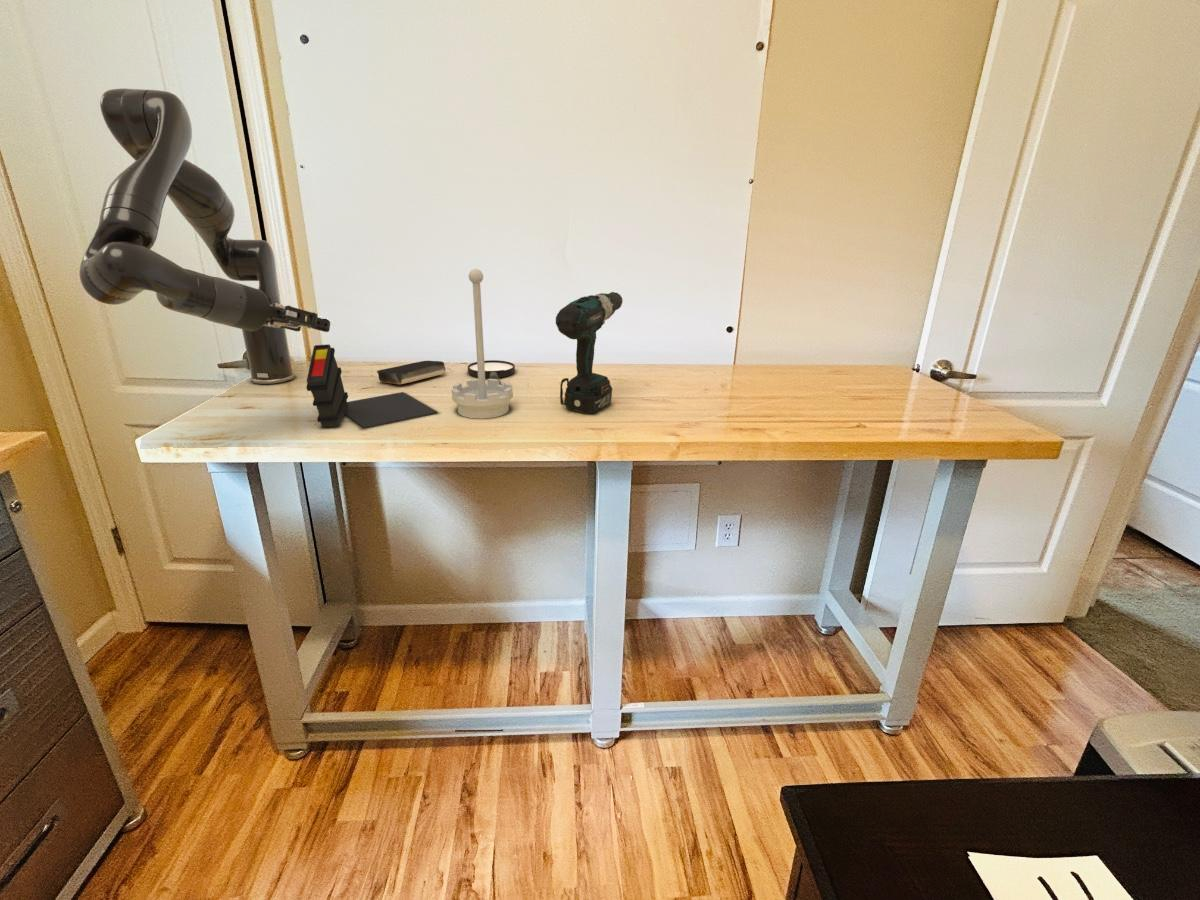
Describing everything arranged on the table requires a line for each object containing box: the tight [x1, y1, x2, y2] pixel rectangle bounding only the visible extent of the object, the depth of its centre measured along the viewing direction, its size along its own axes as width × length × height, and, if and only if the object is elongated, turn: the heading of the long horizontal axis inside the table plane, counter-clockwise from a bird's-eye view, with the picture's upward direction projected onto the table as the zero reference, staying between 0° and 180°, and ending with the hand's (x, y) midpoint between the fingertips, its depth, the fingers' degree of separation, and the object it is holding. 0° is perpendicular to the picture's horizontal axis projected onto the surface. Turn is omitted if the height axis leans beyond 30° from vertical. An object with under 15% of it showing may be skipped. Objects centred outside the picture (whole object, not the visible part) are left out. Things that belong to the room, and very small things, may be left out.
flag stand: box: [451, 268, 514, 419], centre depth 127 cm, size 13×13×30 cm
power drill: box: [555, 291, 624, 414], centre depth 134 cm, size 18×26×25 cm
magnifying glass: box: [467, 359, 516, 385], centre depth 156 cm, size 12×24×2 cm, turn 14°
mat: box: [344, 391, 438, 429], centre depth 132 cm, size 18×16×1 cm
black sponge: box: [376, 360, 446, 385], centre depth 154 cm, size 16×8×4 cm, turn 143°
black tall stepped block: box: [306, 343, 349, 429], centre depth 123 cm, size 4×13×15 cm, turn 9°
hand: (313, 326), depth 118 cm, fingers open, 8 cm apart
